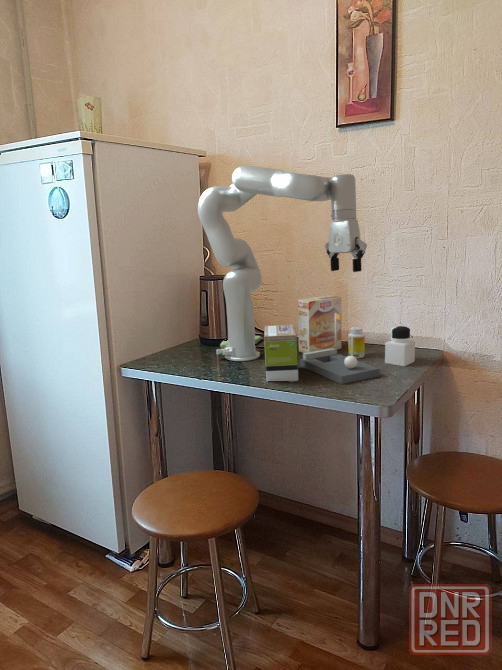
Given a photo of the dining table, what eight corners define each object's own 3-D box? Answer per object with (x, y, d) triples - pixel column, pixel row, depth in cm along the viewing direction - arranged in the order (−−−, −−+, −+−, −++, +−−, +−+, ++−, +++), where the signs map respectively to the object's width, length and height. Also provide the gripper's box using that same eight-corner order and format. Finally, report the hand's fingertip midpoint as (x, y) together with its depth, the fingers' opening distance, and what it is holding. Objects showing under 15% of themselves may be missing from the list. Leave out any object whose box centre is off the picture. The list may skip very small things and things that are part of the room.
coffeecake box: (309, 355, 187) (308, 301, 183) (298, 351, 193) (296, 299, 189) (342, 348, 194) (342, 296, 190) (330, 345, 200) (329, 294, 196)
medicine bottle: (414, 361, 173) (415, 326, 171) (404, 366, 168) (405, 330, 166) (395, 358, 178) (395, 324, 176) (384, 363, 173) (385, 327, 171)
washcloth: (264, 340, 214) (264, 333, 213) (249, 351, 198) (249, 343, 197) (234, 339, 219) (234, 332, 218) (217, 350, 202) (217, 341, 202)
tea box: (265, 368, 173) (264, 324, 170) (296, 367, 173) (295, 323, 170) (265, 382, 159) (263, 335, 155) (299, 381, 158) (297, 333, 155)
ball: (349, 371, 158) (349, 358, 157) (341, 367, 162) (341, 355, 161) (360, 368, 160) (360, 356, 159) (352, 365, 163) (352, 353, 163)
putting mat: (341, 384, 154) (341, 329, 150) (300, 366, 174) (299, 317, 171) (379, 376, 160) (380, 323, 156) (335, 359, 180) (335, 312, 177)
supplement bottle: (367, 356, 182) (368, 327, 180) (357, 359, 179) (357, 330, 177) (355, 353, 186) (355, 325, 184) (344, 356, 183) (344, 328, 181)
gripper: (316, 218, 168) (318, 271, 172) (356, 215, 154) (357, 273, 158) (333, 216, 172) (335, 269, 176) (373, 213, 158) (374, 270, 162)
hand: (345, 271), depth 167 cm, fingers open, 9 cm apart
